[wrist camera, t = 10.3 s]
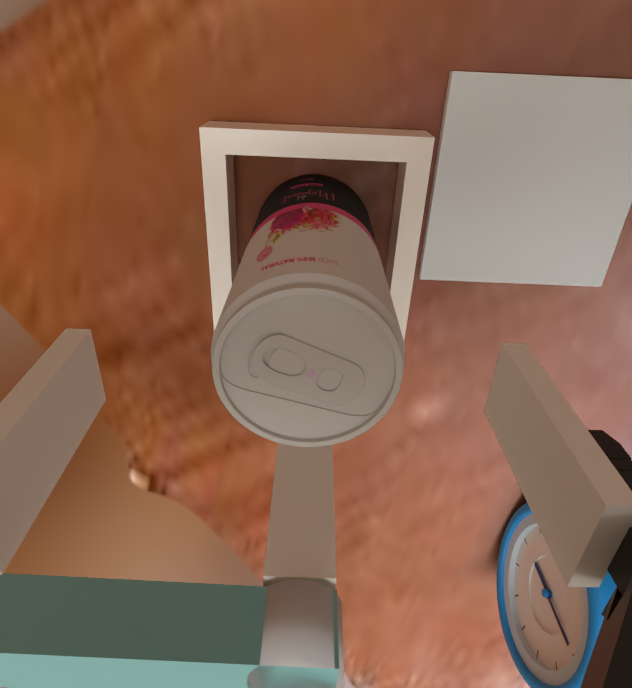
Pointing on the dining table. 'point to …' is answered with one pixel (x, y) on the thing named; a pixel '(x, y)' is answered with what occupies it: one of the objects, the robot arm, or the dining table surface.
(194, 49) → the dining table surface
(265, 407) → the beverage can
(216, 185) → the grey frame with post
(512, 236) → the mat
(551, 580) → the alarm clock
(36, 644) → the bar
